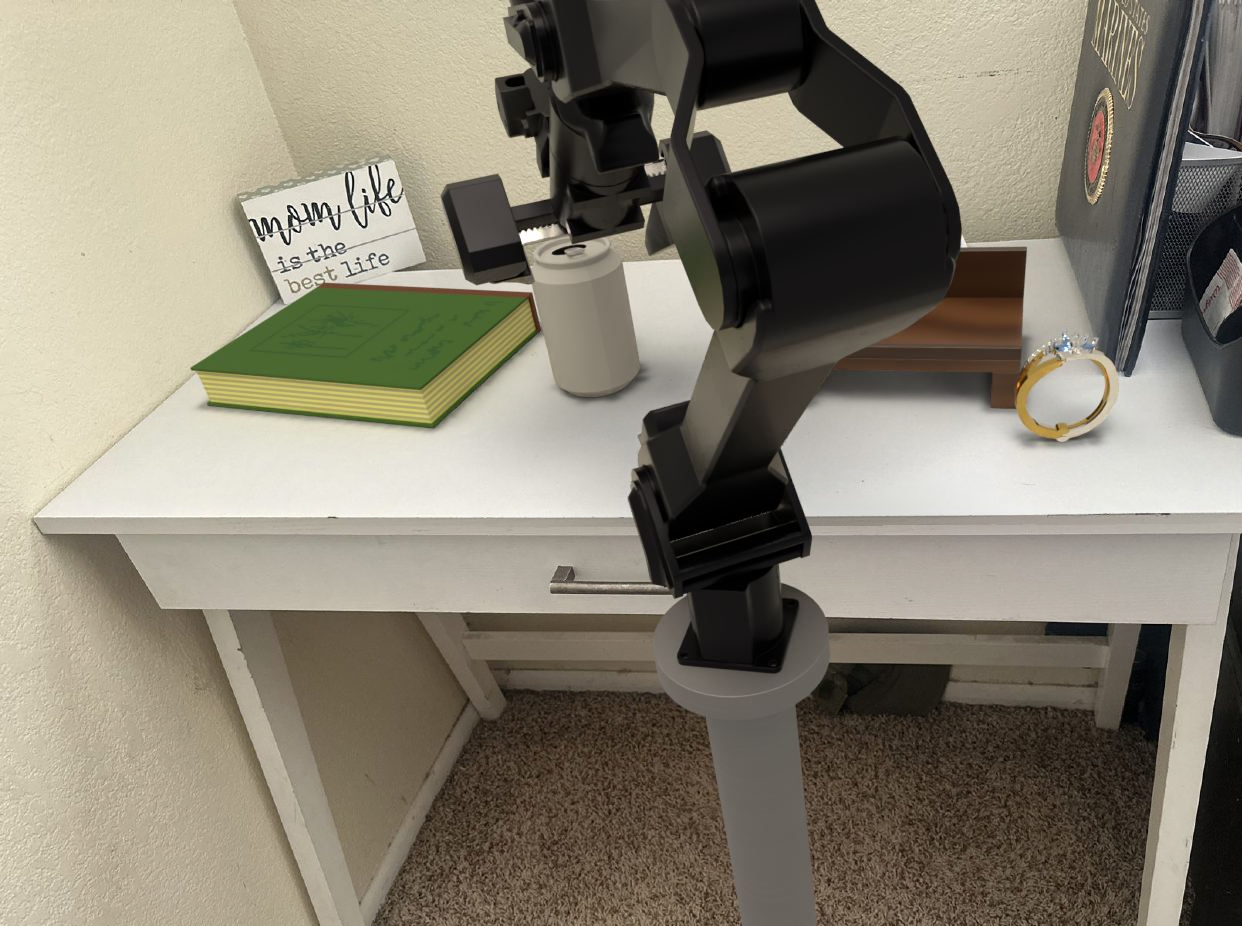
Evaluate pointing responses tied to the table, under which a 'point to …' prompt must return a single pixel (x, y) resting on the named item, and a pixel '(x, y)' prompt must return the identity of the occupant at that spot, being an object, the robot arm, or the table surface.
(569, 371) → the can
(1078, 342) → the ring
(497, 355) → the hardcover book
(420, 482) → the table surface
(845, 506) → the table surface
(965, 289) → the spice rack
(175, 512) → the table surface
